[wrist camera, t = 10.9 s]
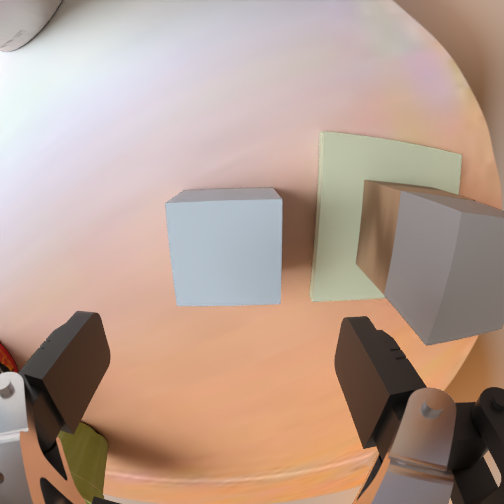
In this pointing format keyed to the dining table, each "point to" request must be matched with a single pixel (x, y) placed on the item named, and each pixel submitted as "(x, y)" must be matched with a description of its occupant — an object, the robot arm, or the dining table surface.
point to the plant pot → (86, 460)
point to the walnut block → (383, 226)
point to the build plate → (351, 197)
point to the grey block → (447, 267)
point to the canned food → (6, 361)
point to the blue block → (226, 246)
